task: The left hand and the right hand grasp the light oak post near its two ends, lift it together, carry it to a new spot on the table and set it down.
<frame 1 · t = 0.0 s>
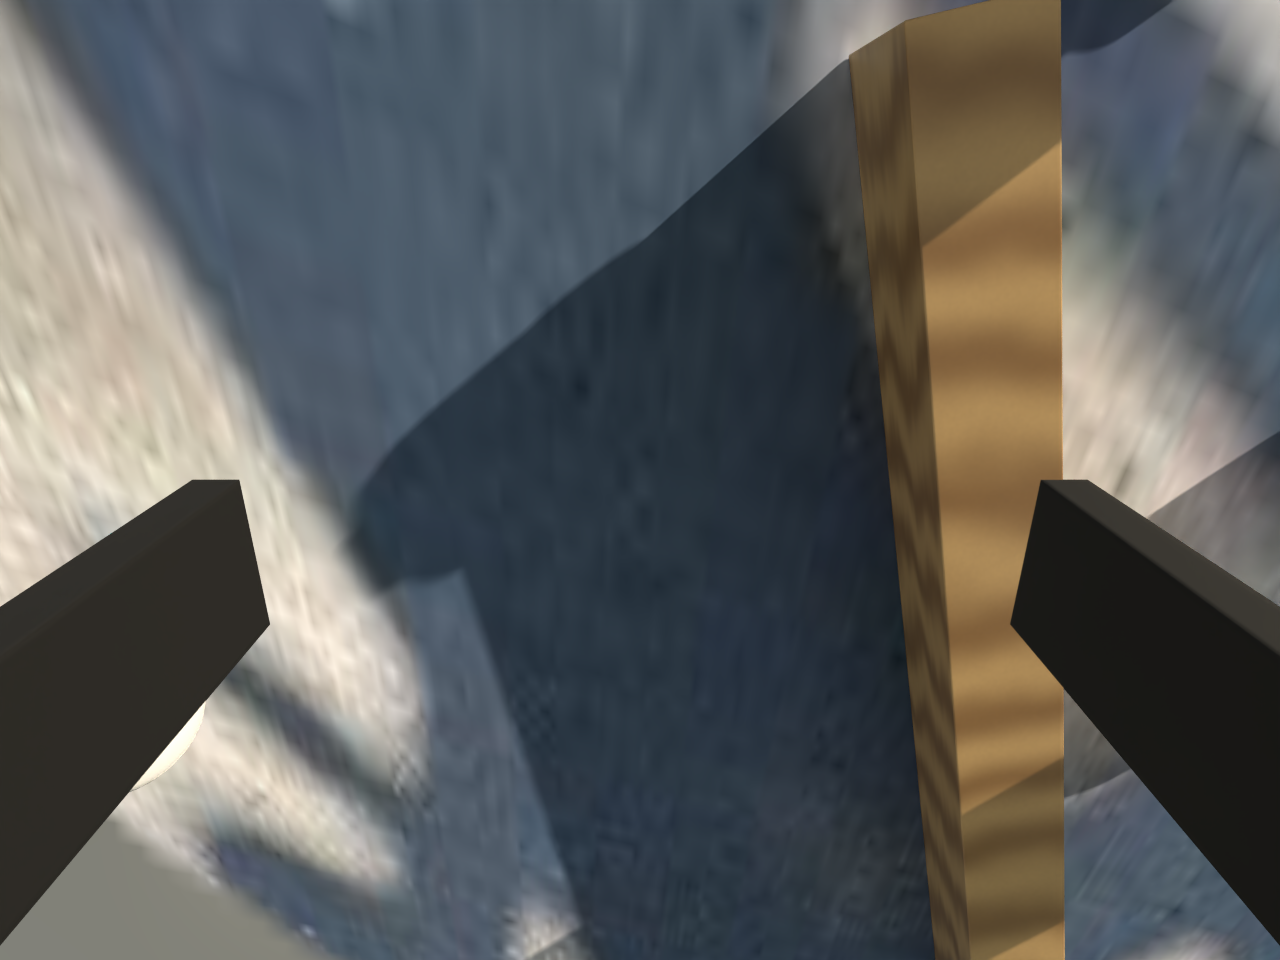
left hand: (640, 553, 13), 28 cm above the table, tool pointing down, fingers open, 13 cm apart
post: (948, 612, 45), on the table
light bulb: (198, 645, 46), on the table
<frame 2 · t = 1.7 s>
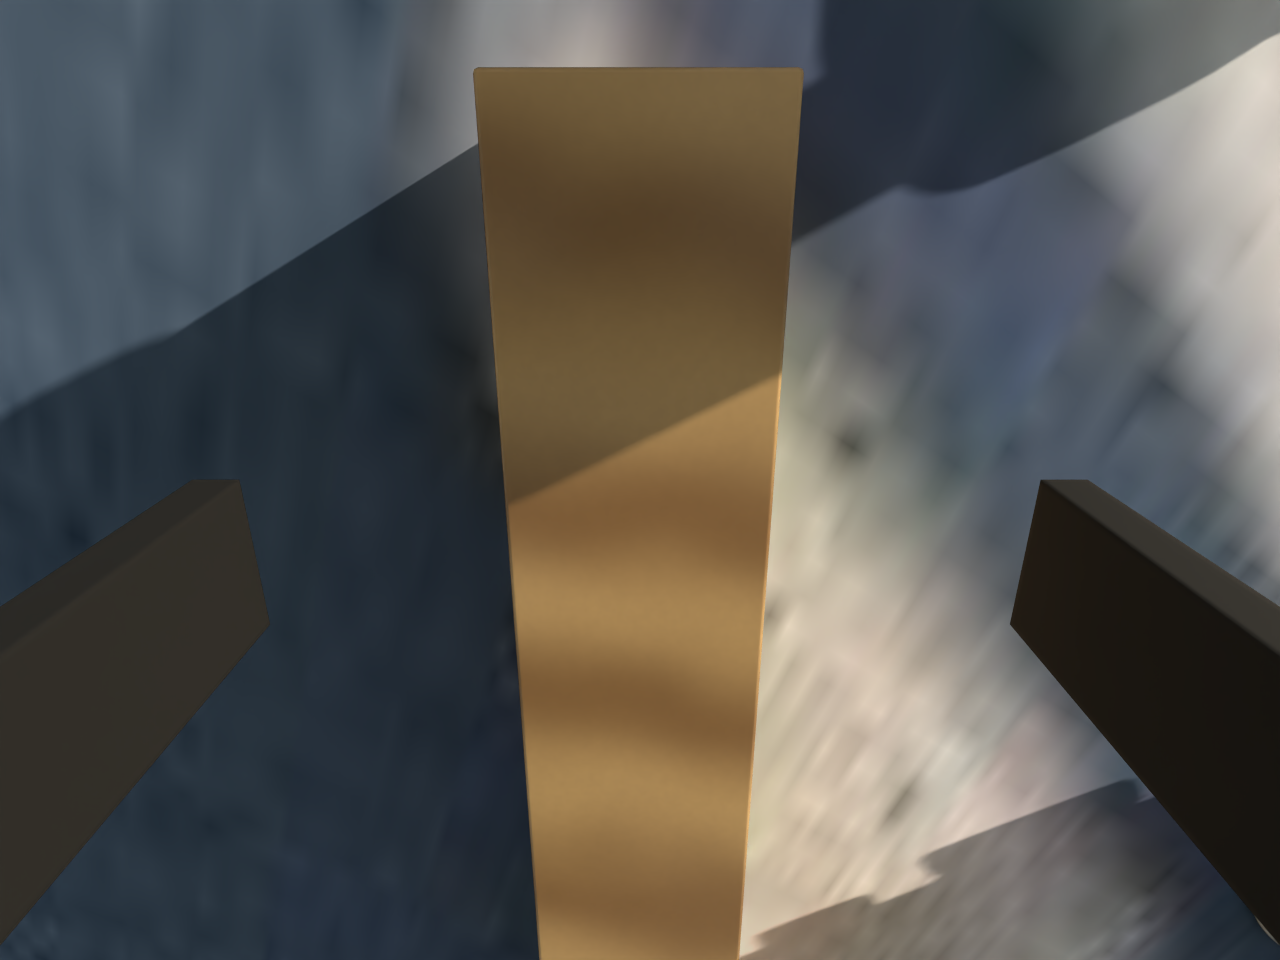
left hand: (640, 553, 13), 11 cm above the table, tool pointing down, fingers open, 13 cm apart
post: (639, 924, 31), on the table
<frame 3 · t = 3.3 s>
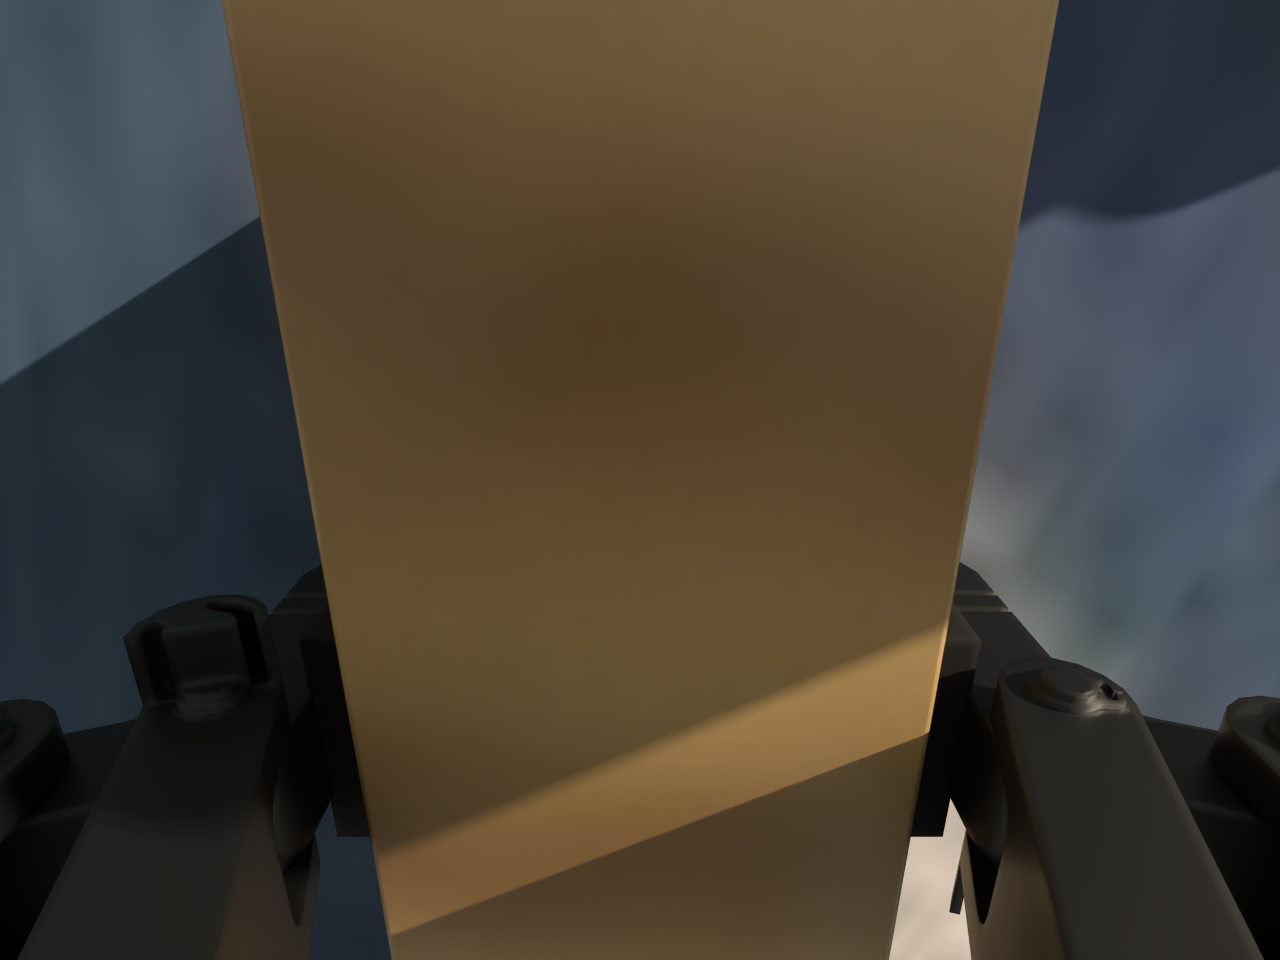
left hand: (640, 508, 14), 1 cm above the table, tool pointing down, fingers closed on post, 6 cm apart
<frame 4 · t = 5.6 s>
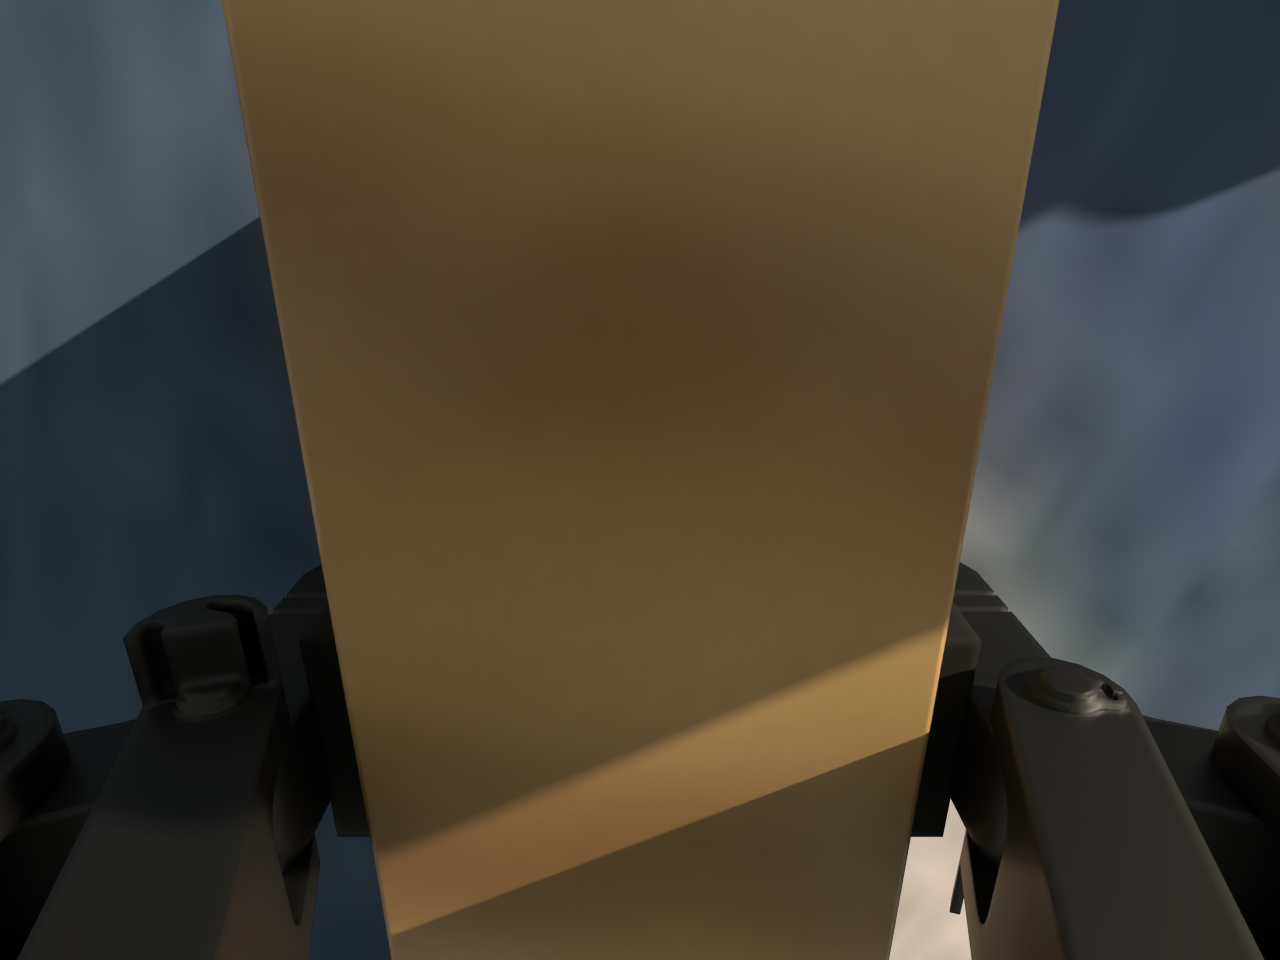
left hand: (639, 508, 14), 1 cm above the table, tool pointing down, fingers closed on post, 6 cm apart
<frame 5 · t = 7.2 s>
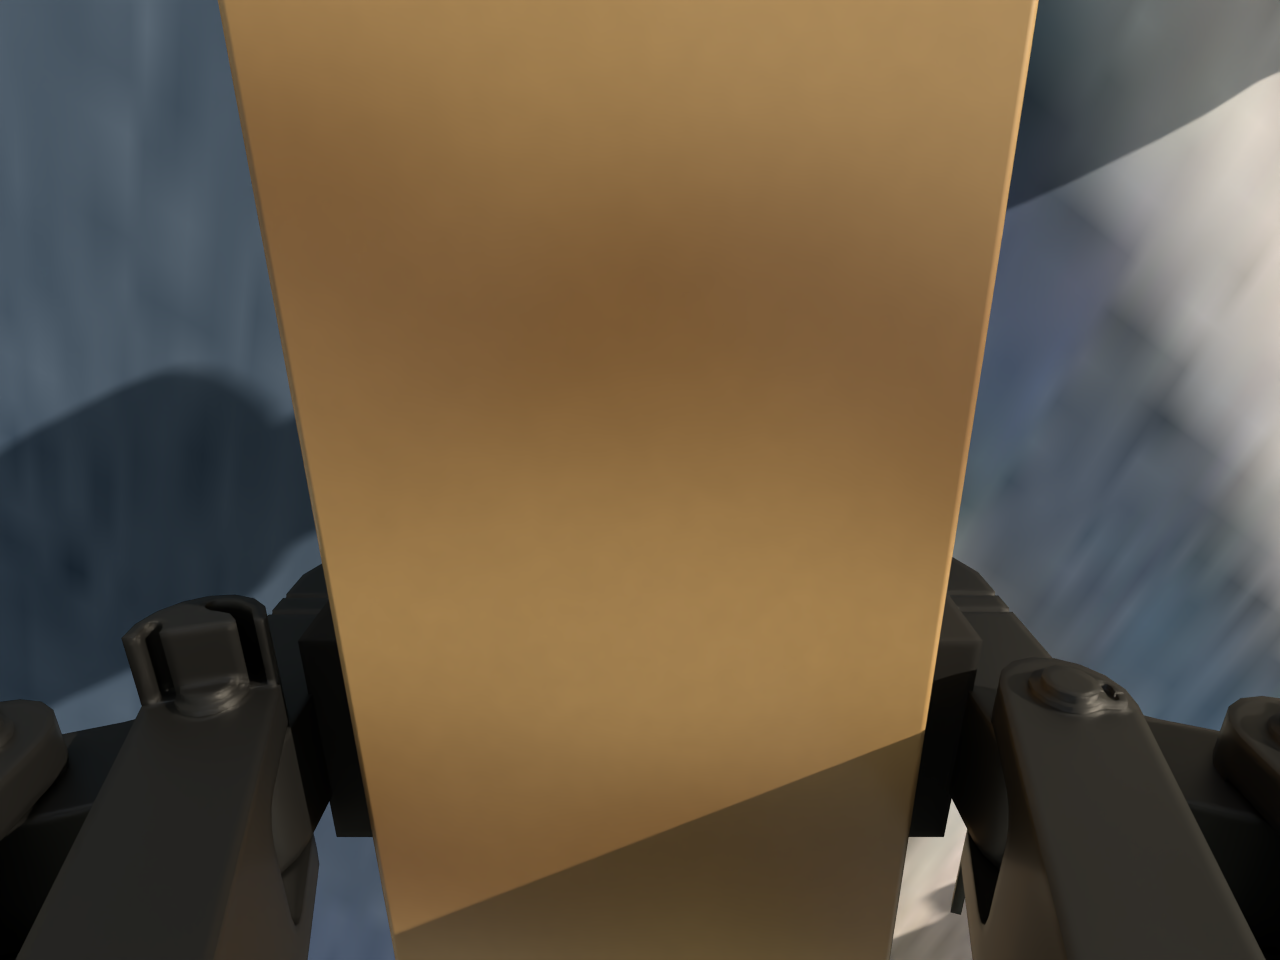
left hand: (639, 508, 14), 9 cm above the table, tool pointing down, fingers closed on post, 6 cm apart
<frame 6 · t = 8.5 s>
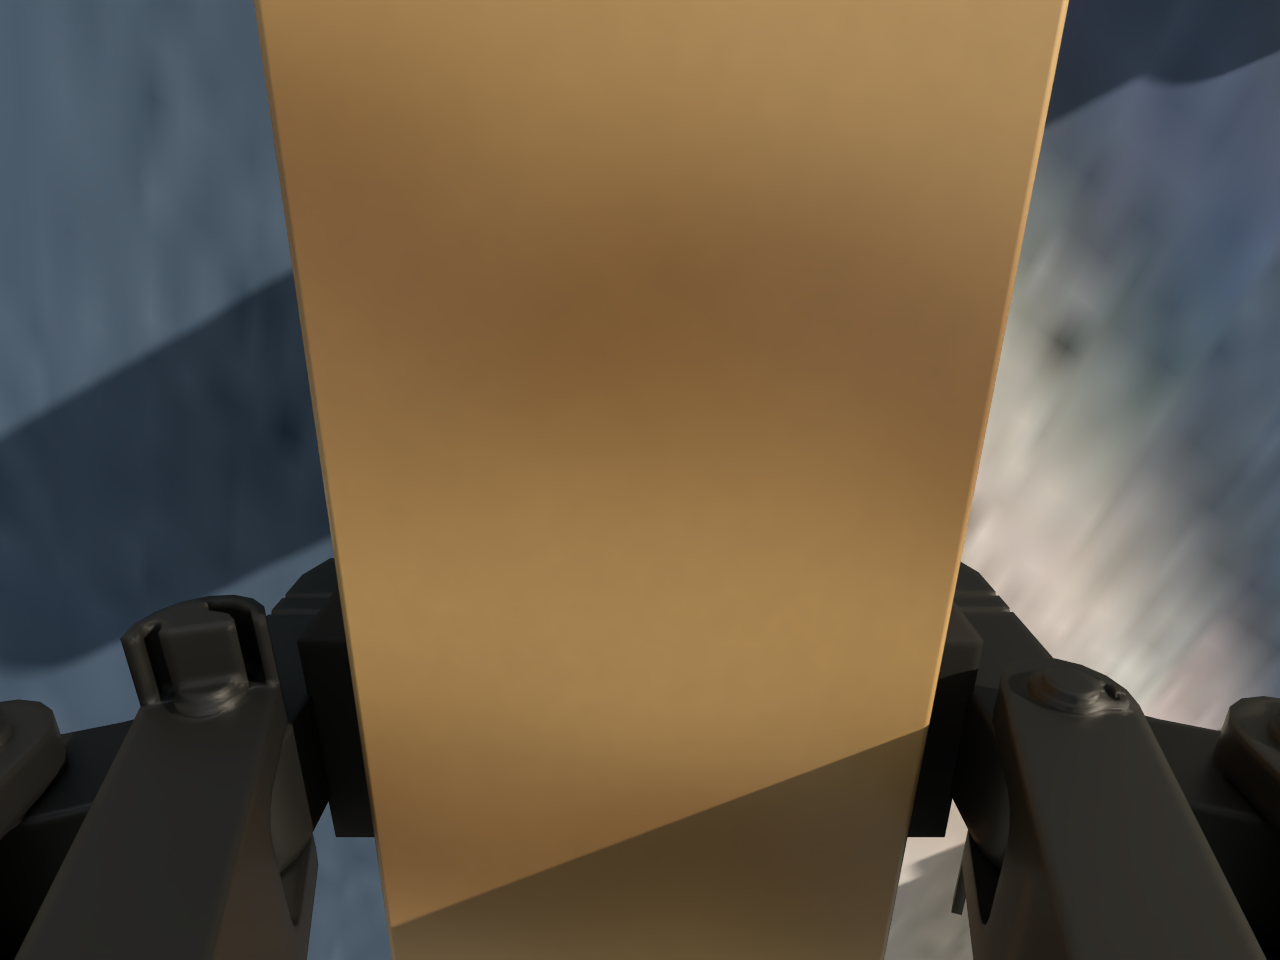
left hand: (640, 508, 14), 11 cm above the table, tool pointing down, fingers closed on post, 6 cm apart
when the left hand's fingers open (2 cm above the table, at t = 11.3 s): post stays where it is, held by the right hand.
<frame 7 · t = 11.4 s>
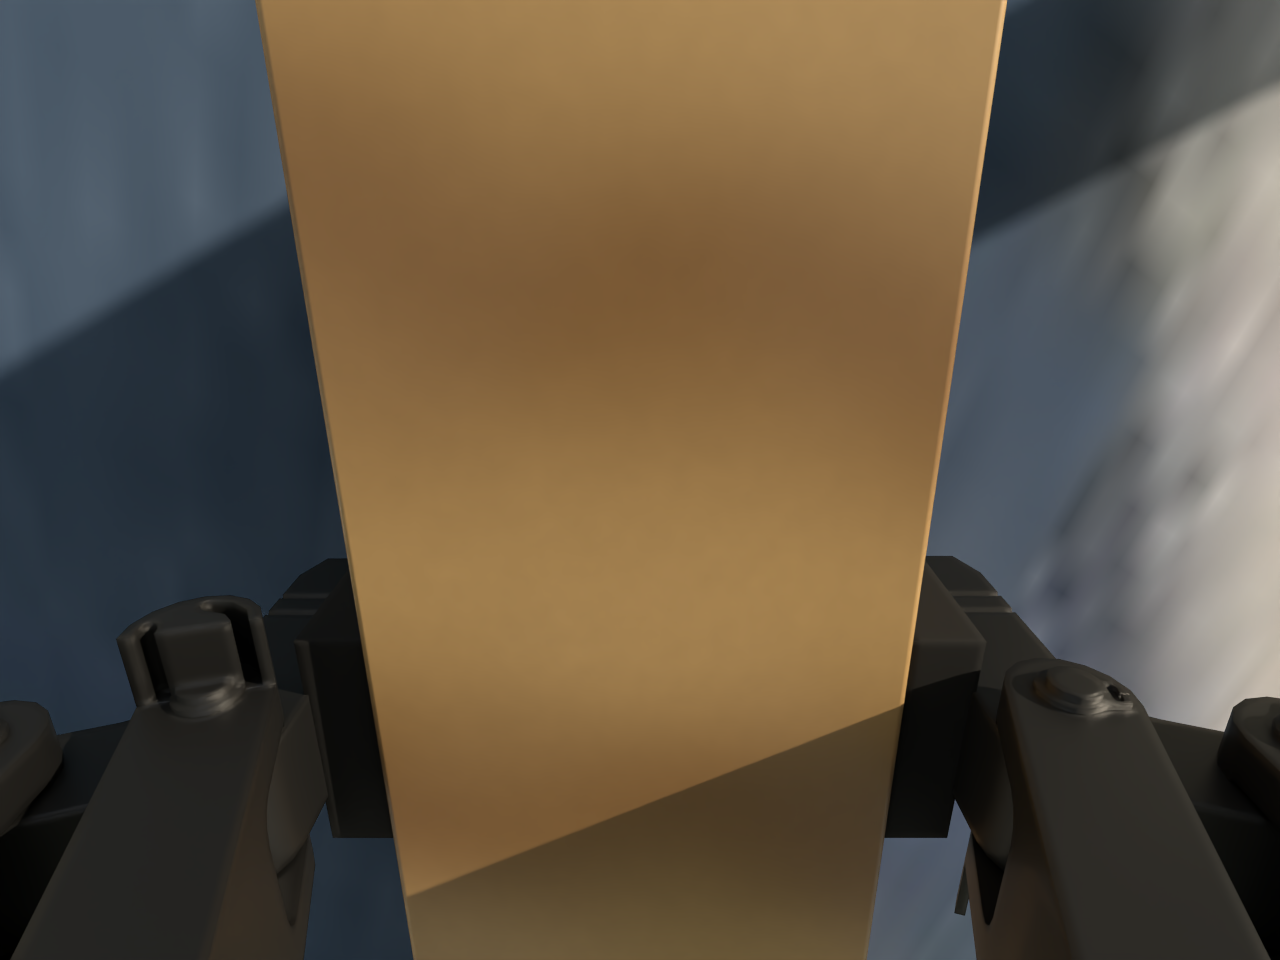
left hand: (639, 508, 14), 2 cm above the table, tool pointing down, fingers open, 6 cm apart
when the right hand's fingers open (4 cm above the table, at t = 11.6 s): post stays where it is, on the table.
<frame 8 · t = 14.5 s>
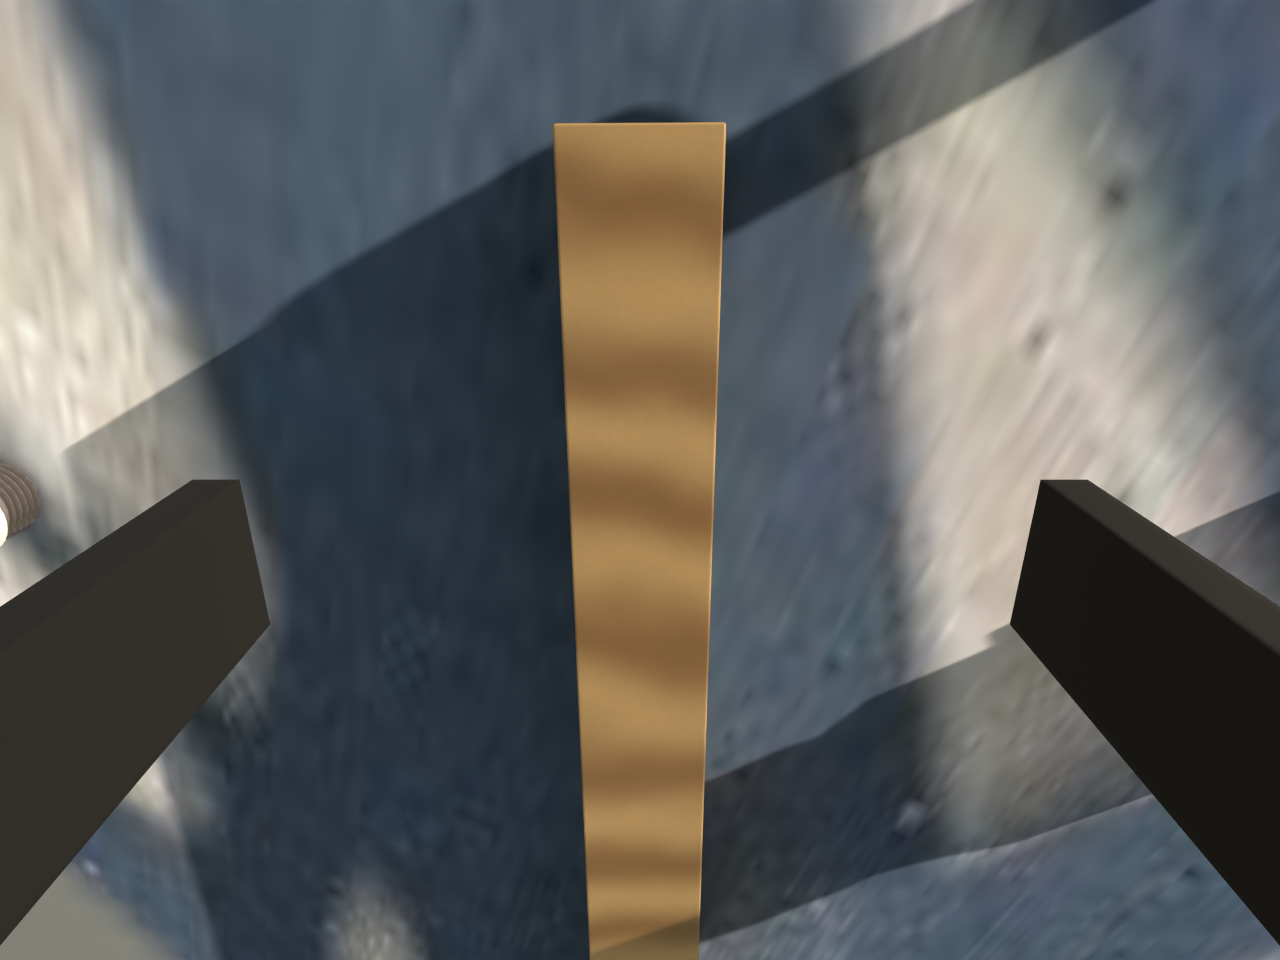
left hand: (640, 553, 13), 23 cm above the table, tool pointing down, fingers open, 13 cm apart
post: (643, 731, 43), on the table
light bulb: (5, 498, 37), on the table
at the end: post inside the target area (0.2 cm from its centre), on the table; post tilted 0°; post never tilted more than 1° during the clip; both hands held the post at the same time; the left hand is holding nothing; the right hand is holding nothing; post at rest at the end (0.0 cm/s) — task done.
